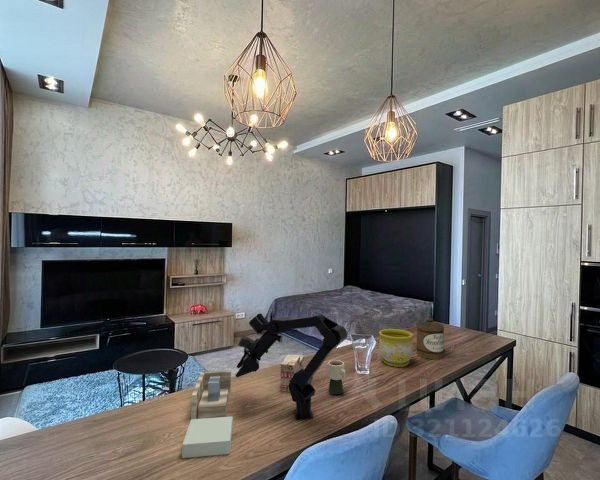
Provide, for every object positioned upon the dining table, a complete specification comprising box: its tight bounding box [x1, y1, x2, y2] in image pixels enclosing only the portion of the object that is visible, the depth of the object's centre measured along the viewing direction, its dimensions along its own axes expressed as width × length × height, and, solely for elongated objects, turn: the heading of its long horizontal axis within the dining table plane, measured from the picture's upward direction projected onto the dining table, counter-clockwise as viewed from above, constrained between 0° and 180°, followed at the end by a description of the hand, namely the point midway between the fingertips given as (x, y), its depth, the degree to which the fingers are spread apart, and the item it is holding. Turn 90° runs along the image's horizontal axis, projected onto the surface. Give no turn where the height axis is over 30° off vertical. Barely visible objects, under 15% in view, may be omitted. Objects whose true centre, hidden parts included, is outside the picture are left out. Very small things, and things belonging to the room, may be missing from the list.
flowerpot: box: [378, 328, 414, 368], centre depth 174 cm, size 18×18×16 cm
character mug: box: [326, 359, 346, 395], centre depth 138 cm, size 11×7×13 cm, turn 38°
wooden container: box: [416, 317, 445, 360], centre depth 187 cm, size 15×15×22 cm
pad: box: [181, 416, 234, 459], centre depth 103 cm, size 14×14×4 cm
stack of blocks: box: [280, 354, 305, 393], centre depth 149 cm, size 21×6×12 cm, turn 168°
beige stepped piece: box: [190, 369, 232, 420], centre depth 127 cm, size 22×13×9 cm, turn 9°
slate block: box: [208, 376, 220, 402], centre depth 125 cm, size 6×4×7 cm, turn 9°
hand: (236, 371), depth 126 cm, fingers open, 9 cm apart
